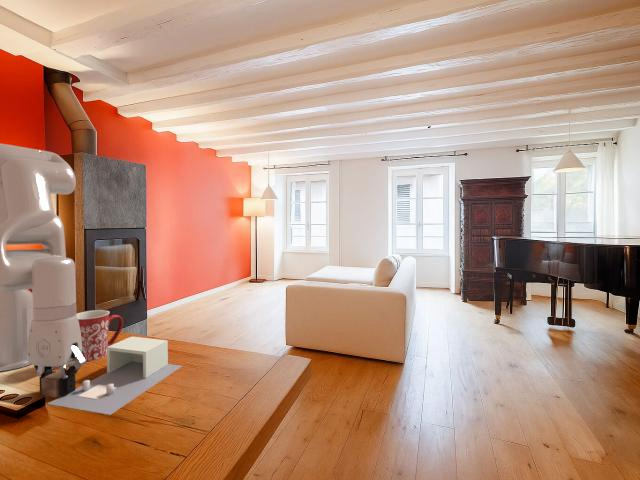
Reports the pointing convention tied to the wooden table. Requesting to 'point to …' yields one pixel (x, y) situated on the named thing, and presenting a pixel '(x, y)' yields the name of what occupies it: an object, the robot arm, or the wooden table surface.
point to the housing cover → (138, 354)
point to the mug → (96, 333)
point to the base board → (113, 389)
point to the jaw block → (51, 384)
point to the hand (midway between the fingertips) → (58, 391)
